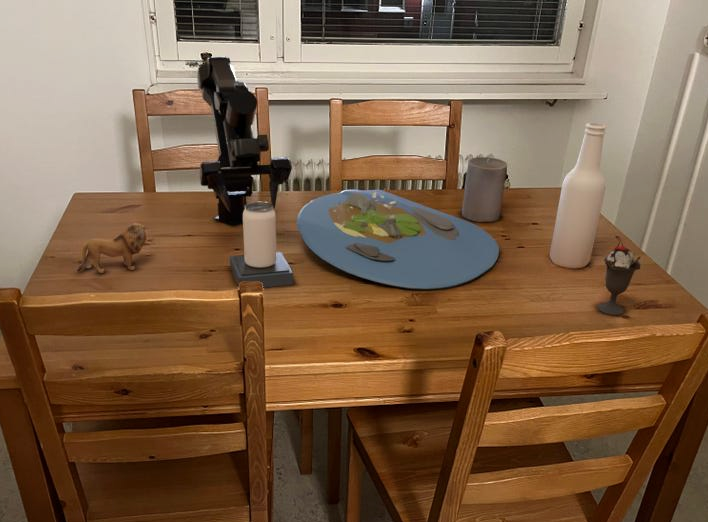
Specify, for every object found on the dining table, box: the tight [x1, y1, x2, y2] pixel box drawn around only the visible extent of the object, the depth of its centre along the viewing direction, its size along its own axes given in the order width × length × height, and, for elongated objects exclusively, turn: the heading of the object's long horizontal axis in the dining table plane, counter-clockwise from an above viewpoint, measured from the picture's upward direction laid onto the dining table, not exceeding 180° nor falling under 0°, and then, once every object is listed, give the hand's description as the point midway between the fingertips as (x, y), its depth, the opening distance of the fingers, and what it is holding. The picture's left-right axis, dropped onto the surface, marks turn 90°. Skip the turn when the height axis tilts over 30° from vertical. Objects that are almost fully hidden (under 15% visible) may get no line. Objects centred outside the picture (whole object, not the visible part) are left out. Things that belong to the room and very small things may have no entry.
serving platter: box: [296, 187, 500, 291], centre depth 165 cm, size 45×43×12 cm
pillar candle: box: [461, 156, 508, 223], centre depth 184 cm, size 10×10×15 cm
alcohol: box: [549, 121, 607, 269], centre depth 157 cm, size 9×9×30 cm
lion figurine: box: [76, 222, 147, 274], centre depth 151 cm, size 15×5×9 cm, turn 116°
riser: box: [229, 251, 294, 289], centre depth 152 cm, size 11×11×3 cm
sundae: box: [597, 235, 642, 316], centre depth 141 cm, size 7×7×15 cm
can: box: [242, 201, 277, 268], centre depth 148 cm, size 6×6×12 cm
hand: (252, 208), depth 153 cm, fingers open, 9 cm apart
